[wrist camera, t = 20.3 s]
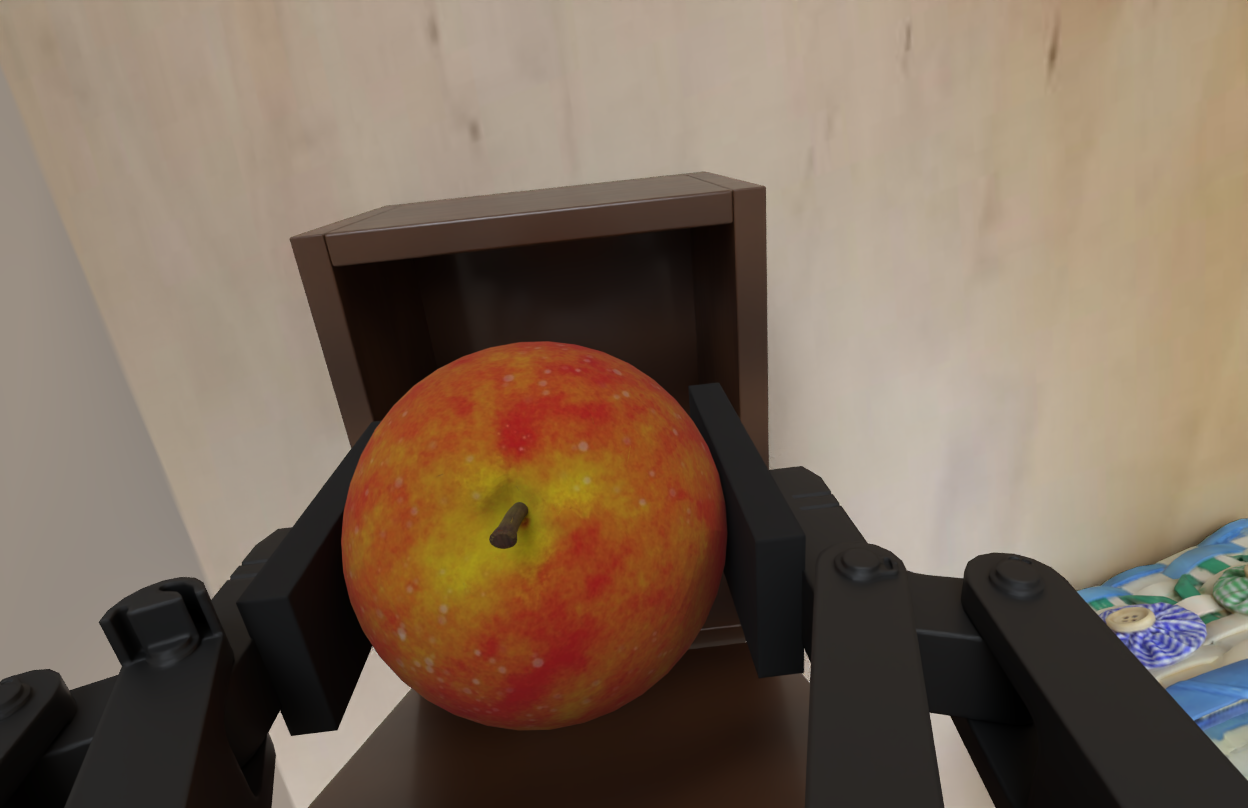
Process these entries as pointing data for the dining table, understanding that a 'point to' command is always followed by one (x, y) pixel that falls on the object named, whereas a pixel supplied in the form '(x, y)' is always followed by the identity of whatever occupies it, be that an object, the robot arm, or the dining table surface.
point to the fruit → (534, 535)
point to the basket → (1191, 631)
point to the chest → (552, 294)
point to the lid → (600, 750)
